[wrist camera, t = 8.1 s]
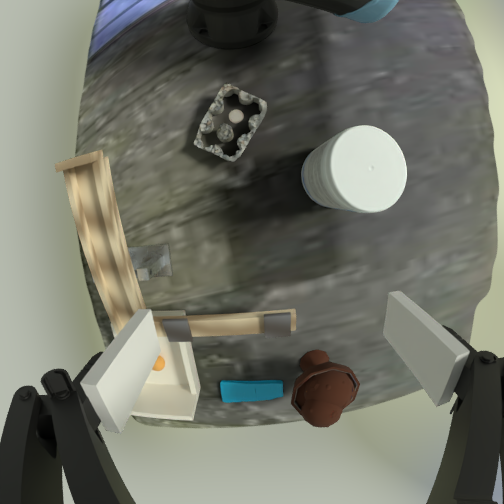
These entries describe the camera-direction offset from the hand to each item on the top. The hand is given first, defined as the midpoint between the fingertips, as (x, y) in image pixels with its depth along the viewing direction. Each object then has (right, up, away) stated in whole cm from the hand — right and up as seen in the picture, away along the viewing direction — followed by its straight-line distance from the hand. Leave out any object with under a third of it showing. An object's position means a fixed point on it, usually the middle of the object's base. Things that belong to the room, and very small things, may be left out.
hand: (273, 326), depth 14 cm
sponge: (-1, -23, +34) cm, 41 cm away
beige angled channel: (-9, +4, +19) cm, 21 cm away
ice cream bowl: (+10, -16, +32) cm, 37 cm away
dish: (-18, -14, +31) cm, 39 cm away
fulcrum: (-19, +2, +28) cm, 34 cm away
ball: (-18, -16, +30) cm, 38 cm away
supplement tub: (+11, +15, +26) cm, 32 cm away
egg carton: (-4, +23, +24) cm, 33 cm away
